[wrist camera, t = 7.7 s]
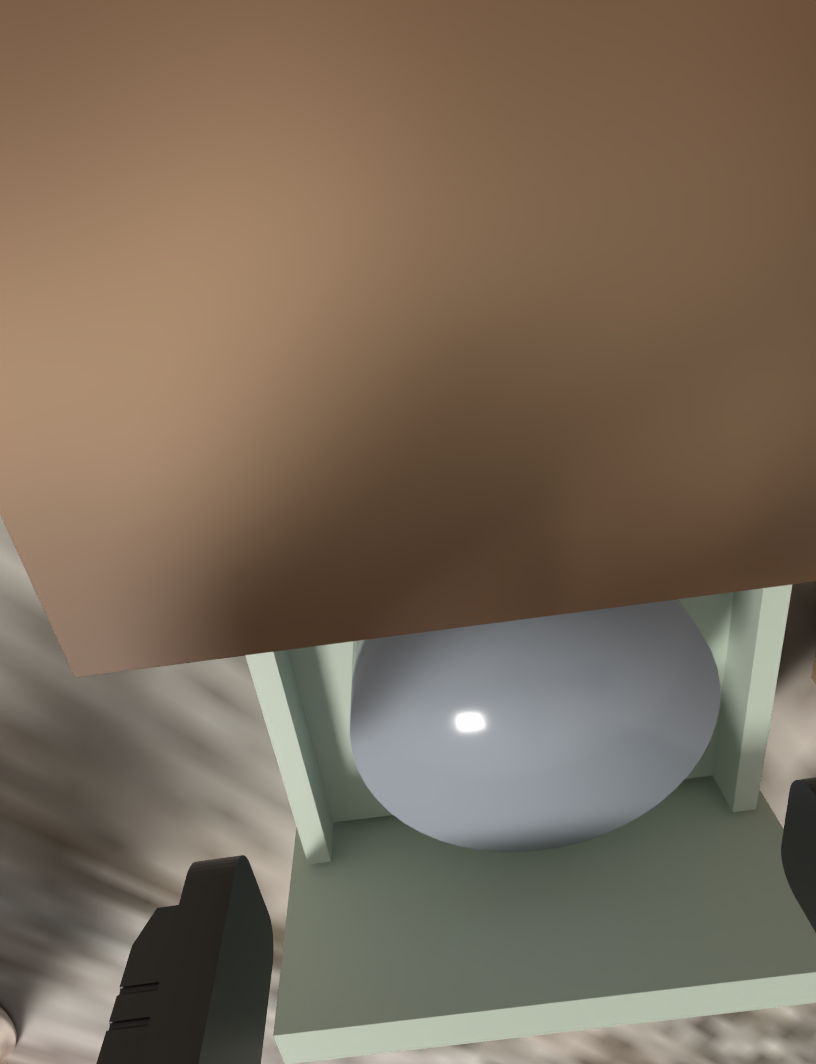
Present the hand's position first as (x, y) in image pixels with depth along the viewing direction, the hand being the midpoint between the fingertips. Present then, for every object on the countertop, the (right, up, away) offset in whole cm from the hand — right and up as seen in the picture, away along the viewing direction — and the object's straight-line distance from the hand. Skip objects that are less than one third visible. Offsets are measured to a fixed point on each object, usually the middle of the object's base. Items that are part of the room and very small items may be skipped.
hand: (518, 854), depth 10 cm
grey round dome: (0, +2, +4) cm, 4 cm away
